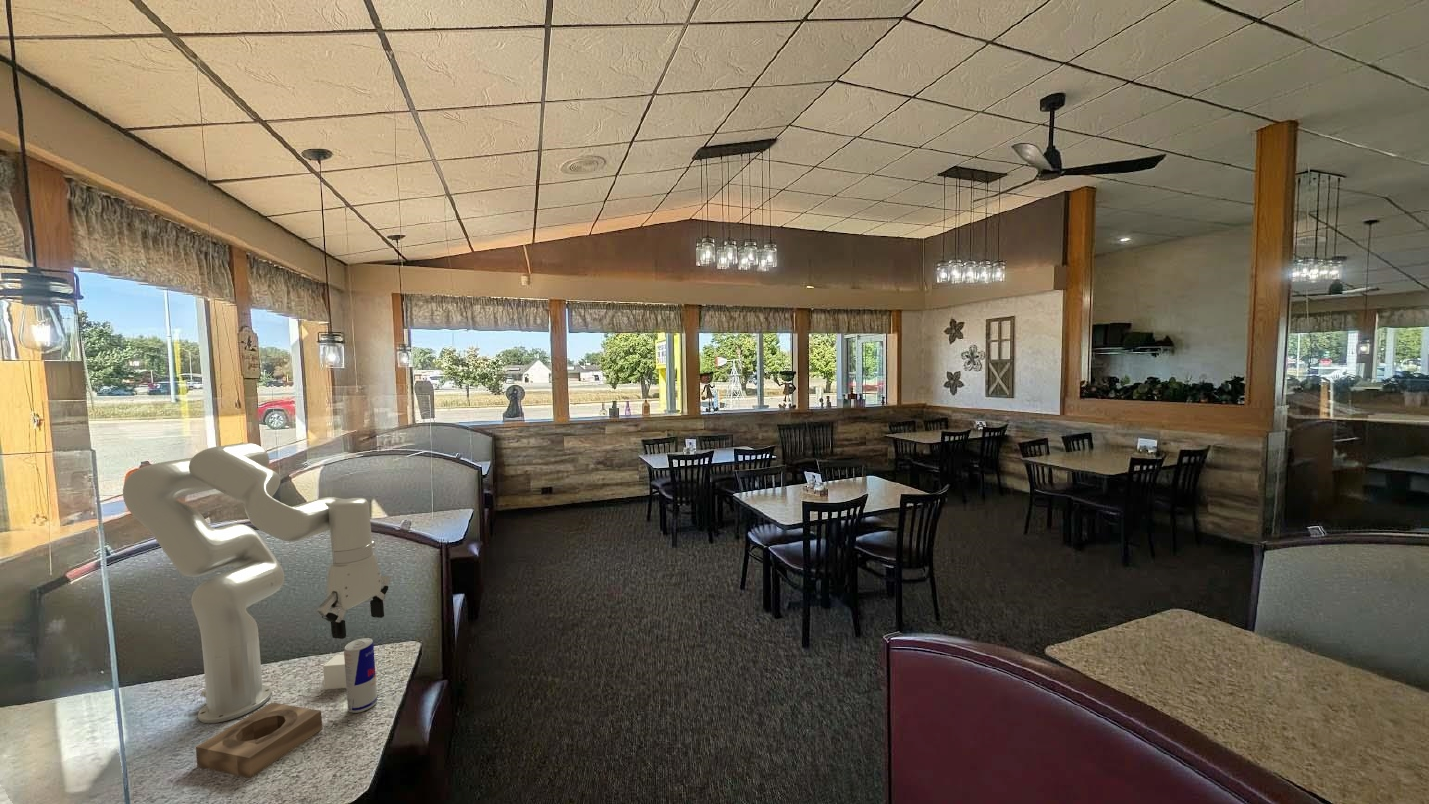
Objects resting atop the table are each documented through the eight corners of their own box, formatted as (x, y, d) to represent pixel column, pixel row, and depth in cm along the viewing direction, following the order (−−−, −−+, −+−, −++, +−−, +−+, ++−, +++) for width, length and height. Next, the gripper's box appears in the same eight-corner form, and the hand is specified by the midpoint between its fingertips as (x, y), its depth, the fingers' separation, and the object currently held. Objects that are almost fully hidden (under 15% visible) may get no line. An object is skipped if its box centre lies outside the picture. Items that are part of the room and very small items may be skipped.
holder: (197, 766, 102) (195, 747, 102) (273, 719, 116) (271, 702, 115) (250, 778, 99) (249, 757, 98) (322, 728, 112) (321, 710, 112)
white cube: (324, 689, 127) (323, 666, 126) (337, 678, 132) (335, 655, 131) (355, 687, 127) (353, 663, 127) (366, 675, 132) (365, 652, 132)
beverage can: (362, 715, 116) (358, 651, 115) (341, 713, 117) (337, 649, 116) (383, 700, 122) (379, 638, 121) (363, 697, 123) (358, 636, 122)
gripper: (373, 540, 127) (378, 608, 128) (301, 567, 110) (308, 645, 111) (398, 541, 125) (403, 610, 126) (329, 568, 108) (336, 648, 109)
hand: (359, 627), depth 118 cm, fingers open, 9 cm apart
